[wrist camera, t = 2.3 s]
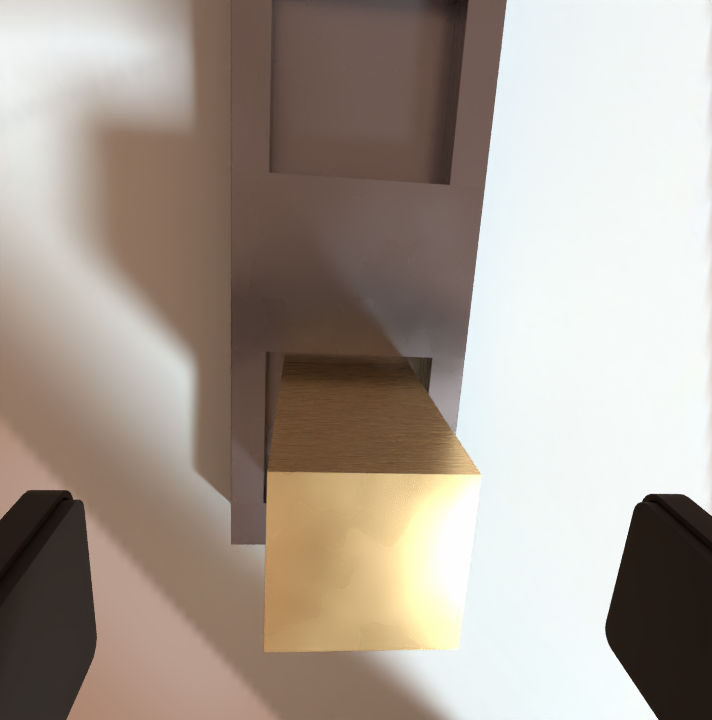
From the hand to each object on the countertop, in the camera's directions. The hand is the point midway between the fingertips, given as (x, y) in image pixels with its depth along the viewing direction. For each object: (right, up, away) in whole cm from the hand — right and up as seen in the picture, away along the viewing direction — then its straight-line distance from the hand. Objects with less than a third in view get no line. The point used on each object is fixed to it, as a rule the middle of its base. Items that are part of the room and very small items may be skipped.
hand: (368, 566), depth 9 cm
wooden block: (-1, +2, +9) cm, 9 cm away
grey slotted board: (0, +7, +8) cm, 11 cm away
